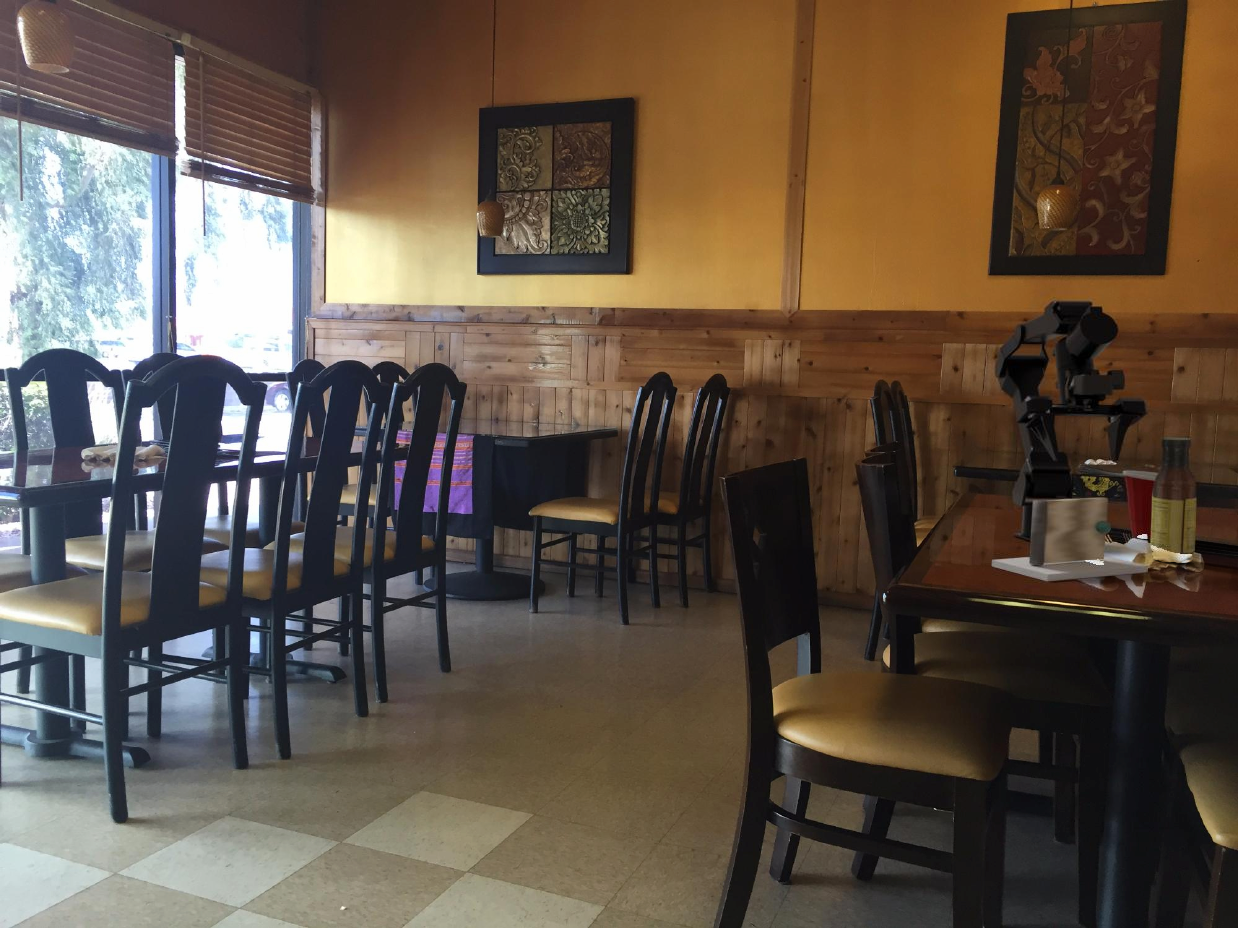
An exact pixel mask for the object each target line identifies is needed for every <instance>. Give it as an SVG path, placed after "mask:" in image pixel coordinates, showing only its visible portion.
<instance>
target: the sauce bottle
mask: <svg viewBox="0 0 1238 928" xmlns="http://www.w3.org/2000/svg"><path fill="white" fill-rule="evenodd" d="M1191 447H1192V440H1191V438H1187V437H1163V438H1162V439H1161V448H1162V458H1161V466H1160V468H1159V471H1158V472H1157V473H1158V474H1157V476H1156V478H1155V482H1154V487H1153V492H1152V521H1151V540H1150V546H1151V545H1153V546H1156V547H1157V548H1162V549H1164V550H1167V551H1170V552H1174V553H1180V554H1193V555H1194V552H1195V548H1196V523H1197V521H1196V519H1197V494H1196V493H1197V492H1196V491H1197V483H1196V477H1195V476H1194V474H1193V473H1192V471H1191V469H1190V459H1189V458H1190V449H1191Z"/></svg>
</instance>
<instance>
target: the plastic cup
mask: <svg viewBox="0 0 1238 928" xmlns="http://www.w3.org/2000/svg"><path fill="white" fill-rule="evenodd" d="M1122 474H1123V475H1124V479H1125V482H1124V483H1125V488H1126V494H1127V495H1126V496H1127V504H1128V505H1127V506H1128V514H1129V515H1128V516H1129V519H1130V521H1129V523H1130V529H1131V534H1132V537H1133V538H1134V537H1137V536H1138V535H1142V534H1147V535H1148V538H1149V540H1148V541H1151V521H1152V492H1153V487H1154V482H1155V478H1156V476H1157V474H1158V472H1152V471H1141V470H1123V471H1122Z"/></svg>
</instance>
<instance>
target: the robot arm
mask: <svg viewBox="0 0 1238 928" xmlns="http://www.w3.org/2000/svg"><path fill="white" fill-rule="evenodd" d="M1118 332H1119V326H1118V324H1117V323H1116V321H1115V320H1114V318H1113V317H1111V315H1109V314H1108V313H1106V312H1103V306H1101V305H1098V306H1097V305H1096V306H1095V305H1093V302H1092V301H1090V300H1052V301H1050V303H1049V304H1047V305H1046V306H1045V307H1044V311H1043V314H1042V315H1040V316H1037V317H1035V318H1033V319H1030V320H1028V321H1025V322H1021V323H1018V324H1016V326H1015V329H1014V331H1013V335H1011V337H1010V338H1009V339H1008V340H1007V341H1006V342H1004V343H1003V344H1002V345H1001V347H1000V348H999V351H998V354H997V358H996V361H995V365H994V375H995V376H994V377H996V379H997V381H998V384H999V387H1000V389H1001V391H1003V392H1004V393H1005V394H1006V395H1007V396H1009V397H1010V398H1011V399H1012V403H1013V407H1014V412H1015V416H1016V423H1017V424H1018V428H1019V429H1018V431H1019V433H1020V439H1021V442H1022V448H1023V452H1024V457H1025V462H1024V464H1023V466H1022V468H1021V470H1020V471H1019V476H1018V478H1017V480H1016V482H1015V485H1014V487H1013V488H1012V493H1011V496H1012V503H1013V504H1016V505H1017V506H1020V507H1022V515H1021V516H1022V518H1021V530H1020V531H1021V532H1013V536H1015V537H1017V538H1021V539H1022V540H1025V541H1030V542H1031V526H1032V509H1033V500H1040V499H1042V500H1043V501H1044V500H1045V499H1047V500H1060V499H1073V493H1074V489H1075V485H1076V482H1075V479H1074V475H1073V473H1071V470H1072V469H1071V466H1070V464H1069V459H1068V455H1067V453H1066V452H1065V451H1059V446H1058V441H1057V440H1058V439H1057V434H1056V427H1055V424H1056V423H1055V421H1056V416H1057V417H1058V416H1059V417H1094V418H1095V417H1096V418H1097V417H1099V418H1101V417H1103V418H1105V417H1106V420H1107V422H1108V423H1109V425H1107V426H1106V430H1107V431H1106V432H1107V439H1108V446H1109V452H1110V457H1111V460H1112V463H1117V462H1118V461H1119V459H1120V454H1121V451H1122V449H1123V448H1122V447H1123V444H1124V439H1125V437H1126V434H1127V431H1128V429H1129V428H1130V427H1131V426H1133V425H1136V424H1137V423H1138V422H1139V421H1140V420H1142V418H1144V417H1145V416H1146V415H1148V413H1149V412H1148V405H1147V402H1146V401H1145V400H1143V399H1142V397H1118V399H1117V400H1115V401H1114V402H1113V403H1112V404H1100V402H1104V401H1105V400H1106V399H1107V396H1113V395H1114V391H1123V390H1124V389H1125V388H1126V377H1125V373H1124V369H1110V370H1107V373H1106V374H1100V373H1101V372H1100V370H1099V369H1096V365H1095V364H1096V363H1095V358H1097V357H1098V356H1099V355H1100V354H1101V353H1103V351H1104V350H1105V349H1106V348H1107V347H1108V346H1109V345H1110V344H1111V343H1113V341H1114V340H1115V339H1116V337H1117V335H1118ZM1061 336H1064V337H1062V338H1061V339H1059V340H1058V341H1057V342H1056V343H1055V345H1054V347H1053V351H1052V354H1051V355H1052V357H1055V367H1056V368H1055V369H1056V375H1057V381H1056V382H1055V383H1054V385H1055V389H1056V390H1058V394H1059V403H1054V402H1053V399H1052V397H1051V396H1047V395H1043V396H1042V395H1041V394H1040V389H1039V387H1040V386H1041V384H1042V381H1043V380H1044V378H1045V373H1046V370H1047V369H1048V368H1047V367H1048V364H1049V362H1050V359H1049V355H1048V353H1047V351H1046V348H1045V346H1046V343H1047V341H1050V340H1052V339H1056V338H1058V337H1061ZM1022 345H1040V348H1041V350H1040V353H1039V354H1028V353H1027V354H1022V353H1021V354H1020V353H1018V354H1017V353H1016V352H1017V351H1018V350H1019V349H1020V348H1021V346H1022ZM1027 498H1028V499H1027Z"/></svg>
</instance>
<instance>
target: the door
mask: <svg viewBox="0 0 1238 928" xmlns="http://www.w3.org/2000/svg"><path fill="white" fill-rule="evenodd" d="M1043 500H1044V501H1043ZM1108 504H1109V498H1108V497H1085V498H1072V499H1060V500H1056V499H1039V500H1033V509H1032V526H1031V541H1030V542H1029V543H1030V548H1029V557H1030V559H1029V563H1030V564H1034V565H1043V564H1048V563H1060V562H1072V561H1085V560H1097V559H1104V556H1105V551H1106V550H1105V549H1106V547H1105V546H1106V536H1107V534H1108V533H1109V532H1110V531H1111V529H1112V527H1111V524H1110V522H1108V521H1107V519H1108V518H1107V517H1108Z"/></svg>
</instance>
